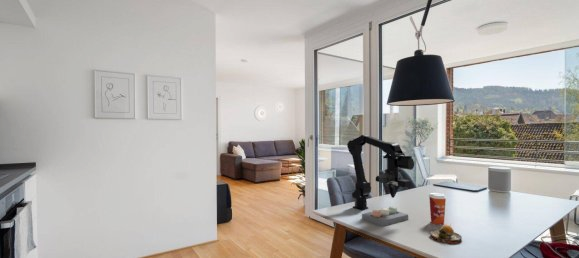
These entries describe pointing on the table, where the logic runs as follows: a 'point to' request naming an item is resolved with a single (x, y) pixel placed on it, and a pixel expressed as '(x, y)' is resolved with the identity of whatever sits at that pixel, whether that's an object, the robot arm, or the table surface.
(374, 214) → the pink button
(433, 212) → the paper cup
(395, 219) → the grey flat board
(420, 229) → the table surface
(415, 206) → the table surface
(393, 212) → the sage button
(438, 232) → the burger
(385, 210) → the cream button
